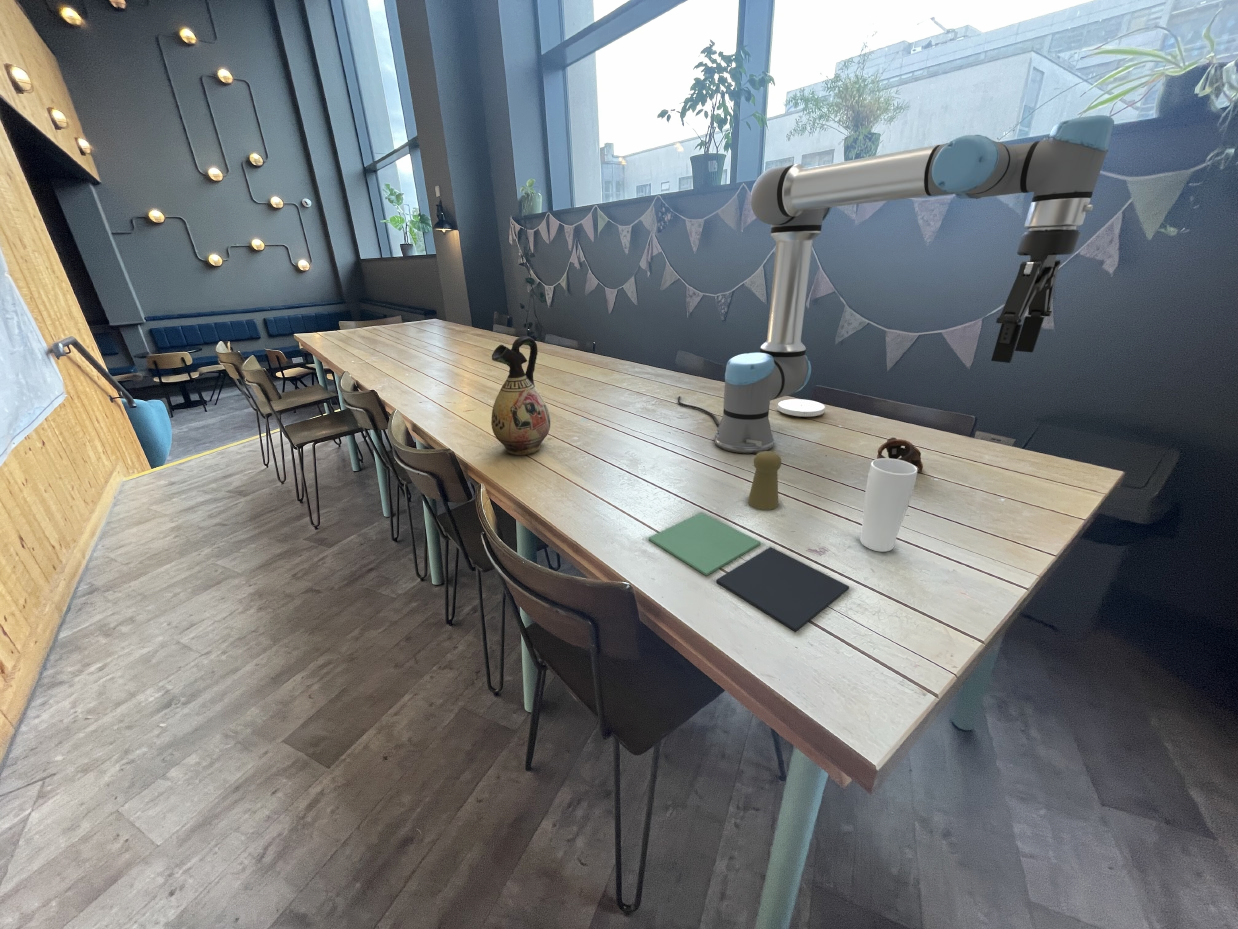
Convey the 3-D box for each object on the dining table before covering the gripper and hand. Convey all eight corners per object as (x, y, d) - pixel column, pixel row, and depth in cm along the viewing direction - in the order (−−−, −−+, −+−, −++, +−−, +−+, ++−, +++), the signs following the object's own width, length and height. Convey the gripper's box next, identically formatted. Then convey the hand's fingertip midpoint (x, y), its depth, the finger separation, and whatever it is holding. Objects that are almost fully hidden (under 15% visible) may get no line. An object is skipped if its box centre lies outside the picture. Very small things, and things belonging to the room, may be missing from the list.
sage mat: (648, 539, 85) (648, 537, 85) (701, 514, 93) (701, 512, 93) (706, 576, 75) (706, 573, 75) (760, 544, 83) (760, 541, 82)
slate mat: (716, 582, 73) (716, 579, 73) (770, 549, 81) (770, 546, 81) (795, 632, 63) (796, 629, 63) (848, 589, 71) (849, 586, 71)
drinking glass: (897, 560, 77) (917, 477, 71) (852, 548, 81) (868, 469, 75) (899, 540, 82) (919, 462, 76) (857, 530, 86) (872, 454, 80)
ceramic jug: (513, 465, 118) (498, 344, 106) (485, 449, 129) (468, 338, 117) (568, 447, 128) (560, 335, 116) (538, 434, 139) (527, 330, 127)
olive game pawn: (745, 507, 95) (750, 457, 91) (750, 494, 100) (754, 446, 96) (777, 512, 93) (783, 461, 88) (779, 498, 98) (785, 449, 94)
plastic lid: (799, 422, 142) (800, 414, 141) (768, 410, 154) (768, 402, 153) (833, 415, 147) (835, 407, 146) (801, 404, 159) (802, 397, 158)
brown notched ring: (932, 479, 105) (927, 453, 100) (887, 494, 108) (880, 469, 104) (910, 447, 114) (904, 422, 110) (869, 461, 117) (861, 437, 113)
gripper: (1061, 227, 69) (1016, 369, 78) (1097, 228, 83) (1056, 349, 92) (1000, 230, 75) (964, 363, 83) (1043, 231, 89) (1009, 345, 97)
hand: (1012, 356), depth 88 cm, fingers open, 13 cm apart
